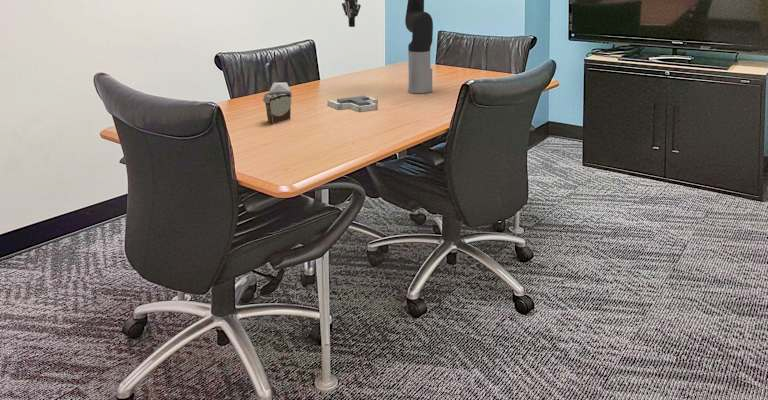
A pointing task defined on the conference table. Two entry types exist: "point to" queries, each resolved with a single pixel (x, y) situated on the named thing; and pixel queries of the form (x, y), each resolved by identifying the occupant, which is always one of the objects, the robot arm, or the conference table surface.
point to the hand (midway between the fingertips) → (351, 26)
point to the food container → (278, 106)
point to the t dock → (355, 107)
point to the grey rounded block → (280, 87)
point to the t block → (355, 100)
